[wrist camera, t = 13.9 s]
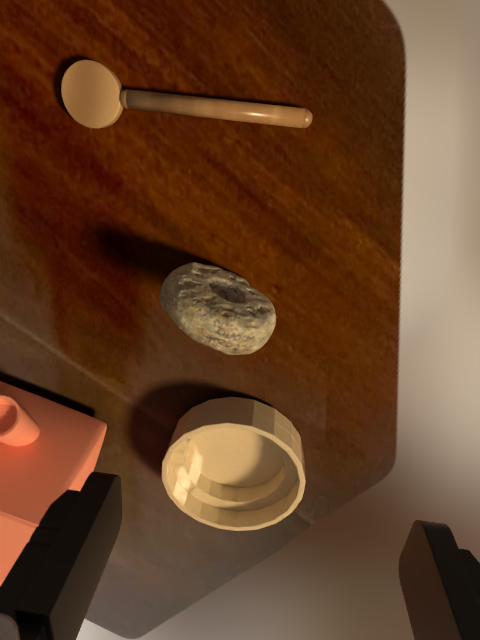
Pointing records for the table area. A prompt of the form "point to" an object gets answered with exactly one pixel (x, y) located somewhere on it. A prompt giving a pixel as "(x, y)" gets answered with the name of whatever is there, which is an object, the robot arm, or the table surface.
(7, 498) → the teapot
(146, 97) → the spoon
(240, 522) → the bowl
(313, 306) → the table surface
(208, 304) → the stone ring
